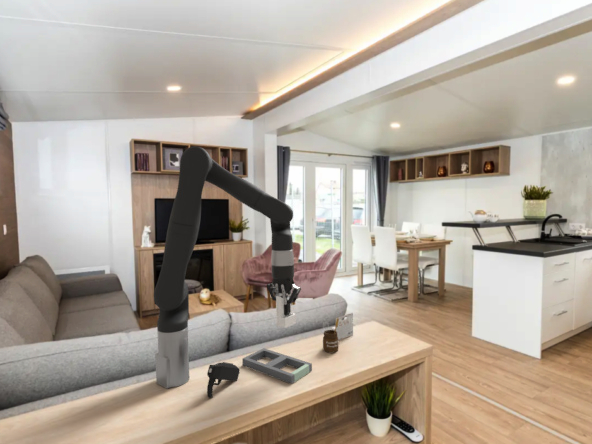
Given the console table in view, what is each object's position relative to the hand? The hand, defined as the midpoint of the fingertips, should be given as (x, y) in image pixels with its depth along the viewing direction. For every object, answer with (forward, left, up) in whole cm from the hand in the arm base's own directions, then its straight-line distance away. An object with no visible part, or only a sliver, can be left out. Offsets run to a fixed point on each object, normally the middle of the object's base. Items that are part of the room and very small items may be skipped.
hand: (284, 314), depth 120 cm
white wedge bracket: (0, -1, -4) cm, 4 cm away
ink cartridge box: (+38, -1, -20) cm, 43 cm away
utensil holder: (+24, -4, -20) cm, 31 cm away
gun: (-19, +8, -20) cm, 29 cm away
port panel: (0, +3, -19) cm, 20 cm away
